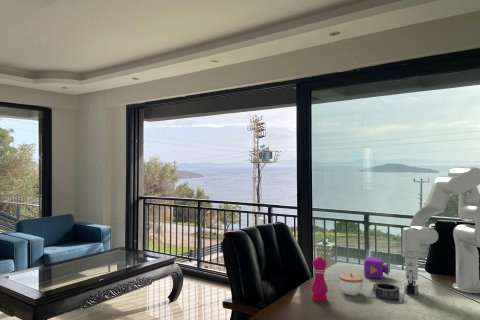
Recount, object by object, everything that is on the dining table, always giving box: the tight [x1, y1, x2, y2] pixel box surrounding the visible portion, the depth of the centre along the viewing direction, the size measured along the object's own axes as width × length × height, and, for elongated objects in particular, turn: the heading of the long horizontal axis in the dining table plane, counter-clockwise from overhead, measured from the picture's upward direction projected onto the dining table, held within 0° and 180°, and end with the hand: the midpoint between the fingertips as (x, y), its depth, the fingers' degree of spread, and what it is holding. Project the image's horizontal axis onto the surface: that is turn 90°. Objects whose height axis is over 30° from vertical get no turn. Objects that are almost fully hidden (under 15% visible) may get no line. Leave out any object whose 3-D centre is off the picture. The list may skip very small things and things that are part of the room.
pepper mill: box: [310, 254, 329, 302], centre depth 159 cm, size 7×7×20 cm
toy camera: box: [363, 255, 391, 280], centre depth 194 cm, size 11×14×10 cm
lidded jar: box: [339, 272, 364, 296], centre depth 167 cm, size 11×11×9 cm
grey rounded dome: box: [403, 282, 419, 296], centre depth 168 cm, size 6×6×4 cm
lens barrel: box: [368, 282, 405, 304], centre depth 164 cm, size 14×12×4 cm
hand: (411, 290), depth 168 cm, fingers open, 7 cm apart
